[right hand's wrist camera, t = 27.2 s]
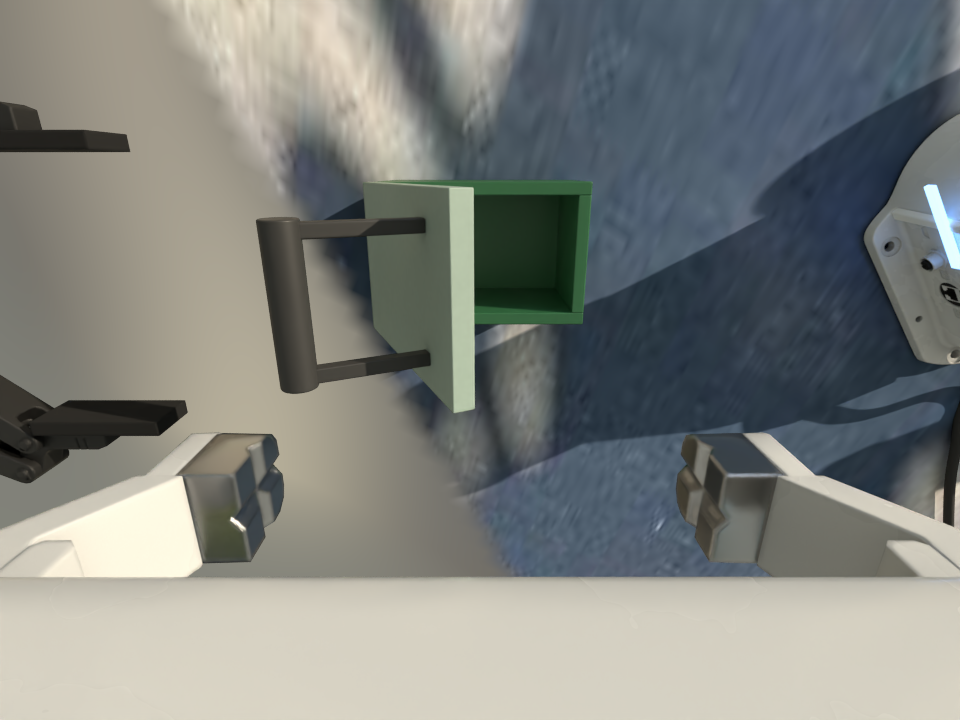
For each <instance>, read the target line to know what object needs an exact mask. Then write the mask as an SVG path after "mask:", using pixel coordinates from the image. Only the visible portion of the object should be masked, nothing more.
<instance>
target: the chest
mask: <svg viewBox="0 0 960 720" xmlns="http://www.w3.org/2000/svg"><path fill="white" fill-rule="evenodd" d="M378 182H388V183H405V184H423V185H440V186H458V187H473V189H474V324H582V323H583V309H584V295H585V281H586V267H587V253H588V239H589V225H590V211H591V197H592V196H591V194H592V182H589V181H576V180H391V181H378Z"/></svg>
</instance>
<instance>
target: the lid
mask: <svg viewBox="0 0 960 720" xmlns="http://www.w3.org/2000/svg"><path fill="white" fill-rule="evenodd" d="M363 192H364V205H365V218H366V219H346V220H318V221H300V220H299V218H294V217H272V218H260V219H257V220H256V225H257V231H258V238H259V245H260V252H261V258H262V265H263V272H264V279H265V286H266V292H267V299H268V306H269V313H270V319H271V326H272V333H273V340H274V347H275V353H276V360H277V367H278V374H279V380H280V387H281V390H282V391H283V392H285V393H290V394H298V393H305V392H309V391H312V390H314V389H315V388H317V387H318V385H319V383H324V382H331V381H337V380H343V379H350V378H356V377H362V376H369V375H375V374H381V373H388V372H394V371H401V370H407V369H413V370H414V371H415V373H416V374H417V375H418V376H419V377H420V378H421V379H422V380H423V381H424V382H425V383H426V384H427V386H428V387H429V388H430V389H431V390H432V391H433V392H434V393H435V394H436V395H437V396H438V397H439V398H440V400H441V401H442V402H443V403H444V404H445V405H446V406H447V407H448V408H449V409H450V410H451V411H452V413H459V412H464V411H469V410H474V409H475V383H474V189H473V187H458V186H440V185H423V184H405V183H388V182H363ZM363 236H367V244H368V258H369V271H370V284H371V297H372V310H373V324H374V328H375V329H376V330H377V332H378V333H379V334H380V335H381V336H382V337H383V338H384V339H385V340H386V341H387V342H388V343H389V344H390V346H391V347H392V348H393V349H394V350H395V351H396V352H397V353H396V354H389V355H382V356H375V357H368V358H361V359H354V360H347V361H340V362H333V363H326V364H319V365H317V362H316V353H315V345H314V336H313V328H312V320H311V311H310V303H309V295H308V286H307V278H306V269H305V261H304V252H303V244H302V239H322V238H342V237H363Z"/></svg>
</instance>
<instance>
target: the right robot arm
mask: <svg viewBox="0 0 960 720" xmlns="http://www.w3.org/2000/svg"><path fill="white" fill-rule="evenodd" d="M864 242H865V245H866V247H867V250H868V252H869V254H870V256H871V259H872V261H873V263H874V265H875V268H876V270H877V272H878V274H879V277H880V279H881V281H882V283H883V286H884V288H885V290H886V292H887V295H888V297H889V299H890V301H891V304H892V306H893V308H894V310H895V313H896V315H897V317H898V319H899V321H900V324H901V326H902V328H903V330H904V333H905V335H906V337H907V339H908V342H909V344H910V346H911V348H912V350H913V353H914V355H915V356H916V358H917V359H918V360H920V361H923V362H927V363H932V364H942V365H945V364H959V363H960V114H958V115H956V116H955V117H953V118H952V119H950V120H948V121H947V122H946V123H944V124H943V125H941V126H940V127H939V128H938V129H936V130H935V131H934V132H933V133H932V134H931V135H930V136H929V137H928V138H927V139H926V140H925V141H924V142H923V143H922V144H921V145H920V146H919V148H918V149H917V150H916V151H915V152H914V154H913V155H912V157H911V158H910V159H909V161H908V163H907V164H906V166H905V168H904V169H903V171H902V173H901V175H900V177H899V179H898V182H897V184H896V186H895V189H894V191H893V193H892V196H891V198H890V200H889V201H888V203H887V205H886V206H885V207H884V208H883V209H882V210H881V211H880V212H879V214H878V215H877V216H876V217H875V218H874V219H873V221H872V222H871V223H870V225H869V226H868V228H867V229H866V231H865V234H864ZM886 243H888V247H887V248H886V249H884V247H885V244H886ZM952 352H953V353H952ZM951 353H952V354H951ZM278 456H279V450H278V446H277V440H276V439H275V437H274V436H273V435H272V434H236V433H222V434H221V433H196V434H191V435H190V436H189V437H187V438H186V439H185V440H184V441H183V442H182V443H181V444H180V445H178V446H177V447H176V448H175V449H174V450H173V451H172V452H171V453H169V454H168V455H167V456H166V457H165V458H164V459H163V460H162V461H160V462H159V463H158V464H157V465H156V466H155V467H154V468H153V469H152V470H150V471H149V472H148V473H147V474H146V475H145V476H134V477H132V478H129V479H127V480H124V481H122V482H119V483H116V484H114V485H111V486H109V487H106V488H104V489H101V490H99V491H96V492H94V493H91V494H89V495H86V496H83V497H81V498H78V499H76V500H73V501H71V502H68V503H66V504H63V505H61V506H58V507H56V508H53V509H51V510H48V511H45V512H43V513H40V514H38V515H35V516H33V517H30V518H28V519H25V520H23V521H20V522H17V523H15V524H12V525H10V526H7V527H5V528H2V529H0V720H960V529H957V528H955V527H954V507H955V487H956V478H957V471H958V465H959V460H960V402H959V405H958V408H957V411H956V414H955V417H954V420H953V427H952V436H951V444H950V450H949V456H948V461H947V467H946V474H945V483H944V501H943V523H942V522H940V521H937V520H935V519H932V518H930V517H927V516H924V515H922V514H919V513H917V512H914V511H912V510H909V509H907V508H904V507H902V506H899V505H897V504H894V503H892V502H889V501H887V500H884V499H881V498H879V497H876V496H874V495H871V494H869V493H866V492H864V491H861V490H859V489H856V488H854V487H851V486H849V485H846V484H843V483H841V482H838V481H836V480H833V479H831V478H828V477H826V476H815V475H814V474H813V473H812V472H811V471H810V470H809V469H807V468H806V467H805V466H804V465H803V464H802V463H801V462H800V461H799V460H797V459H796V458H795V457H794V456H793V455H792V454H791V453H790V452H788V451H787V450H786V449H785V448H784V447H783V446H782V445H781V444H779V443H778V442H777V441H776V440H775V439H774V438H773V437H772V436H771V435H769V434H766V433H722V434H691V435H686V437H685V439H684V441H683V444H682V450H681V456H682V457H683V459H684V460H685V462H686V463H687V465H686V466H685V467H684V468H683V469H682V470H681V471H680V472H679V473H678V475H677V484H676V495H677V503H678V507H679V510H680V513H681V514H682V516H683V518H684V520H685V521H686V522H687V523H689V524H691V525H692V526H694V527H695V528H696V532H695V538H696V540H697V542H698V543H699V545H700V547H701V548H702V550H703V552H704V553H705V555H706V557H707V558H708V560H709V562H729V563H757V566H759V567H760V568H761V569H763V570H764V571H765V572H767V573H768V574H769V575H771V576H772V577H188V576H189V575H191V574H192V573H193V572H195V571H196V570H198V569H199V568H200V567H202V566H203V563H230V562H251V560H252V559H253V557H254V555H255V553H256V552H257V550H258V549H259V547H260V545H261V543H262V542H263V540H264V538H265V532H264V528H265V527H266V526H268V525H269V524H271V523H273V522H274V521H275V520H276V518H277V516H278V514H279V512H280V510H281V506H282V502H283V498H284V482H283V475H282V473H281V472H280V471H279V470H278V469H277V468H276V467H275V466H274V465H273V463H274V462H275V460H276V459H277V457H278Z"/></svg>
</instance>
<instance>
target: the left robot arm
mask: <svg viewBox="0 0 960 720" xmlns="http://www.w3.org/2000/svg"><path fill="white" fill-rule="evenodd" d="M0 152H130V149H129V144H128V140H127V135H125V134H116V133H108V132H98V131H89V130H42V127H41V124H40V120H39V116H38V113H37V110H35V109H32V108H30V107H27V106H25V105H18V104H12V103H5V102H0ZM185 414H187V407H186V403H185V401H184V400H69V401H67V402H65V403H63V404H61V405H60V406H58V407H56V408H53V407H51V406H50V405H48V404H46V403H45V402H43V401H42V400H40V399H38V398H37V397H35V396H34V395H32V394H30V393H29V392H27V391H25V390H24V389H22V388H21V387H19V386H17V385H16V384H14V383H12V382H11V381H9V380H8V379H6V378H4V377H3V376H1V375H0V475H3V476H6V477H8V478H11V479H14V480H17V481H19V482H22V483H31V482H33V481H34V480H36V479H37V478H39V477H40V476H41V475H43V474H44V473H46V472H47V471H49V470H50V469H52V468H53V467H55V466H56V465H58V464H59V463H60V462H62V461H63V460H65V459H66V458H68V456H69V450H68V449H100V448H103V447H105V446H108V445H109V444H110V443H112V442H113V441H114V440H116V439H117V438H118V437H120V436H159V435H161V434H162V433H163V432H164V431H166V430H167V429H168V428H169V427H171V426H172V425H173V424H174V423H175V422H177V421H178V420H179V419H180V418H182V417H183V416H184V415H185Z"/></svg>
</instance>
